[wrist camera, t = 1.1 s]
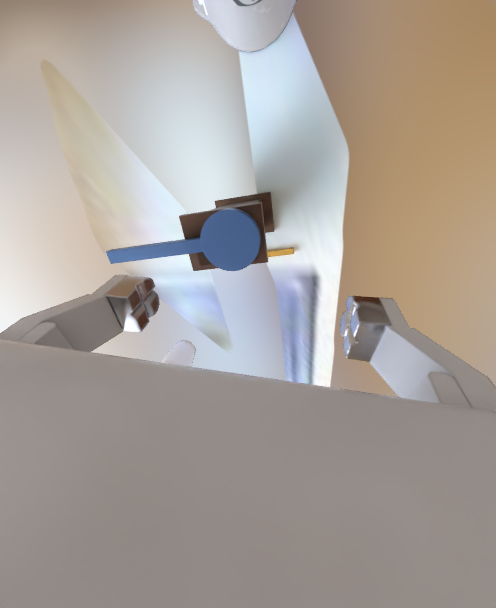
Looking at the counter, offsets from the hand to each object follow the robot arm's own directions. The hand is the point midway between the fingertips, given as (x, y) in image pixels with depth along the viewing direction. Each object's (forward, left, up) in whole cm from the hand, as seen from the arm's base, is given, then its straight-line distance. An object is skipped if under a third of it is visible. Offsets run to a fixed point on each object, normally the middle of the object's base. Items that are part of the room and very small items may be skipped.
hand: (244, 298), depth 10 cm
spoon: (+1, -10, -20) cm, 22 cm away
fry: (+10, +1, -46) cm, 47 cm away
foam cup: (+36, -29, -46) cm, 65 cm away
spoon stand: (+1, -5, -46) cm, 46 cm away
